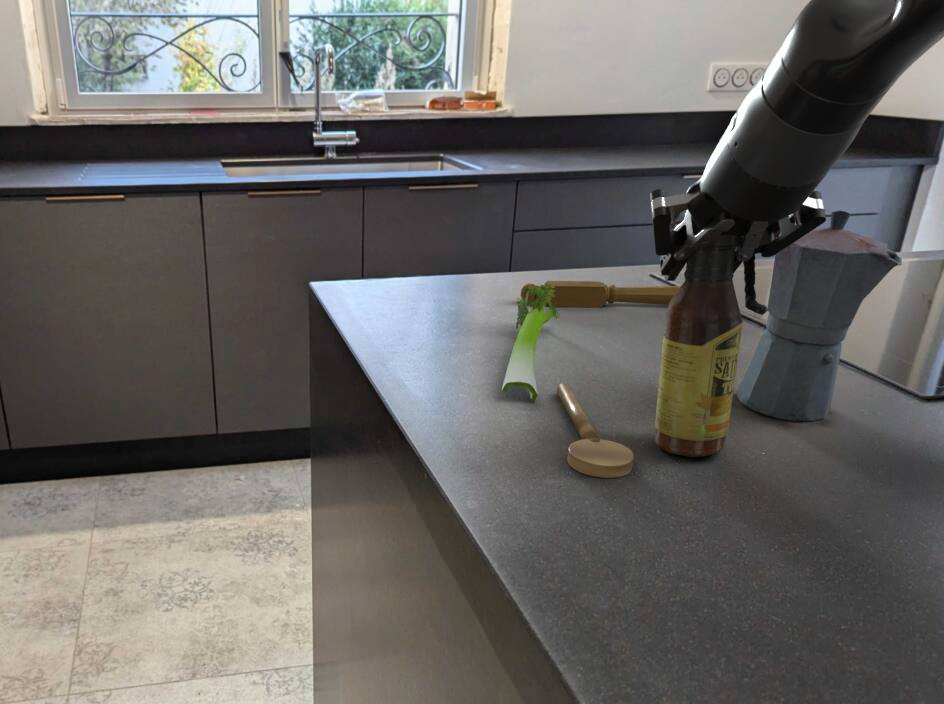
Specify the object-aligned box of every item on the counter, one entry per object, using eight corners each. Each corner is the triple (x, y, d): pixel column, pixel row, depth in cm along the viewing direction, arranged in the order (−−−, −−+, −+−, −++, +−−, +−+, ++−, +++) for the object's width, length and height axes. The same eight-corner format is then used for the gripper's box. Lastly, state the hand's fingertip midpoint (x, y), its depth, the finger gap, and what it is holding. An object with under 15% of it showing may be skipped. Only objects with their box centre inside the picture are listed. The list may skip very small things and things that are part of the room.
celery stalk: (483, 412, 88) (510, 315, 113) (548, 427, 87) (561, 325, 112) (495, 361, 85) (520, 273, 110) (562, 376, 84) (572, 283, 109)
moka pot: (829, 441, 78) (891, 226, 69) (684, 392, 89) (722, 202, 81) (876, 418, 83) (938, 215, 74) (733, 375, 94) (773, 194, 86)
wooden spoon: (535, 392, 89) (536, 380, 88) (587, 393, 89) (589, 381, 88) (574, 477, 71) (576, 462, 70) (639, 478, 71) (642, 464, 70)
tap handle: (732, 288, 118) (523, 285, 119) (728, 309, 120) (521, 306, 120) (724, 283, 121) (520, 280, 122) (720, 303, 122) (518, 300, 123)
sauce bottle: (718, 465, 72) (748, 236, 64) (645, 453, 76) (664, 234, 67) (731, 438, 77) (761, 222, 69) (662, 428, 81) (682, 220, 72)
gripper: (686, 183, 56) (615, 308, 73) (897, 185, 56) (778, 311, 72) (675, 96, 59) (609, 236, 75) (877, 97, 58) (766, 238, 75)
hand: (692, 272), depth 74 cm, fingers closed on sauce bottle, 3 cm apart
